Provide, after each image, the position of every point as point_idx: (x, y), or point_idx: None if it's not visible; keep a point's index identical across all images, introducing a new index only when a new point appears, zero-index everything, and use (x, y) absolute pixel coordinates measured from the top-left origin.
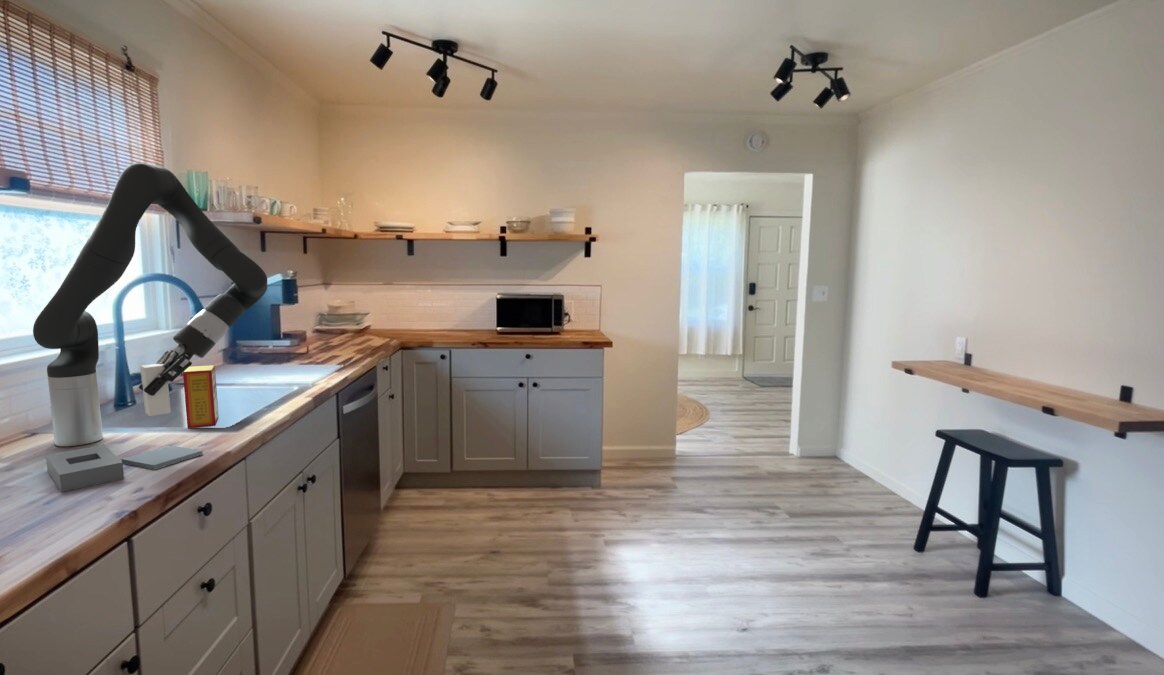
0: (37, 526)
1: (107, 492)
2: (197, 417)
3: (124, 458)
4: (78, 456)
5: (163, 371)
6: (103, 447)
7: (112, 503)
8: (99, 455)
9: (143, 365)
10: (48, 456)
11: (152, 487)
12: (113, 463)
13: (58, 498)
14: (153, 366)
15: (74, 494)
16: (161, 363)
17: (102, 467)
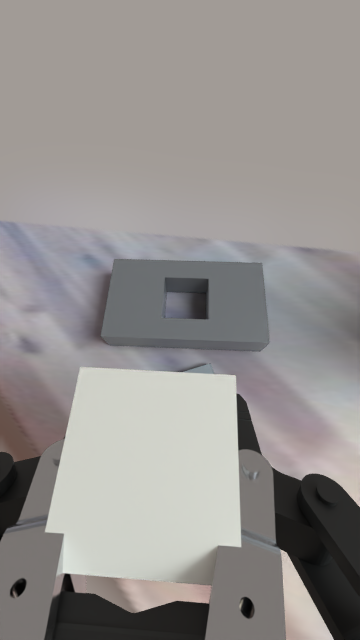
0: (11, 240)
1: (61, 313)
2: None
3: (209, 367)
4: (208, 294)
5: (30, 496)
6: (245, 337)
7: (6, 307)
8: (185, 319)
9: (223, 396)
10: (247, 264)
11: (20, 363)
12: (106, 324)
13: (95, 268)
14: (77, 439)
15: (94, 283)
16: (213, 578)
17: (106, 309)
